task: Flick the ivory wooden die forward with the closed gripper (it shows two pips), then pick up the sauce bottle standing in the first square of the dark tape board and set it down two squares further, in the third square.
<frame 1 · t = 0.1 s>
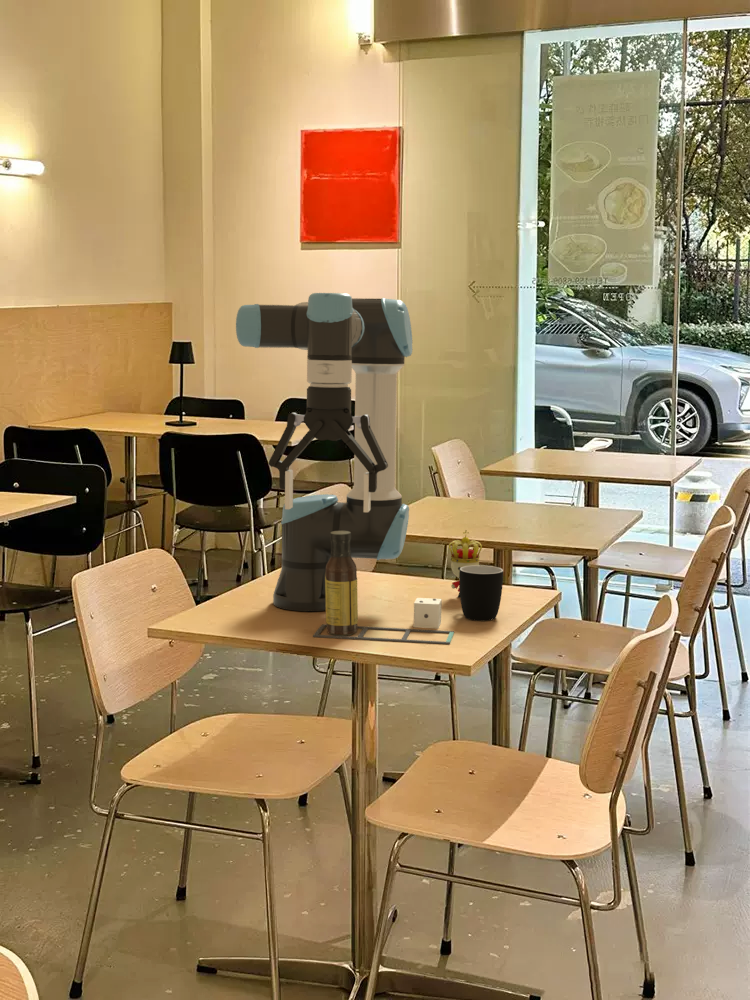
hand: (327, 509, 217), 28 cm above the table, fingers open, 13 cm apart
die: (427, 625, 254), on the table
toy: (464, 597, 280), on the table
tape board: (384, 634, 245), on the table
mug: (475, 617, 262), on the table
sauce bottle: (341, 633, 246), on the table
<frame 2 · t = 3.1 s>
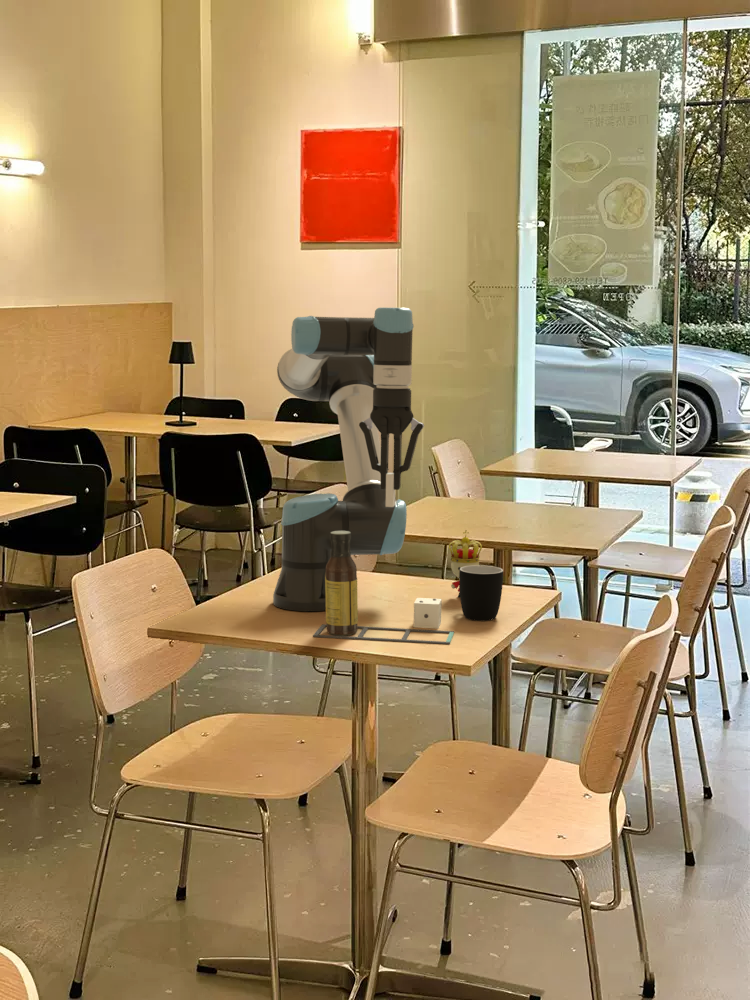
hand: (390, 505, 251), 24 cm above the table, fingers closed
nothing on the table moved.
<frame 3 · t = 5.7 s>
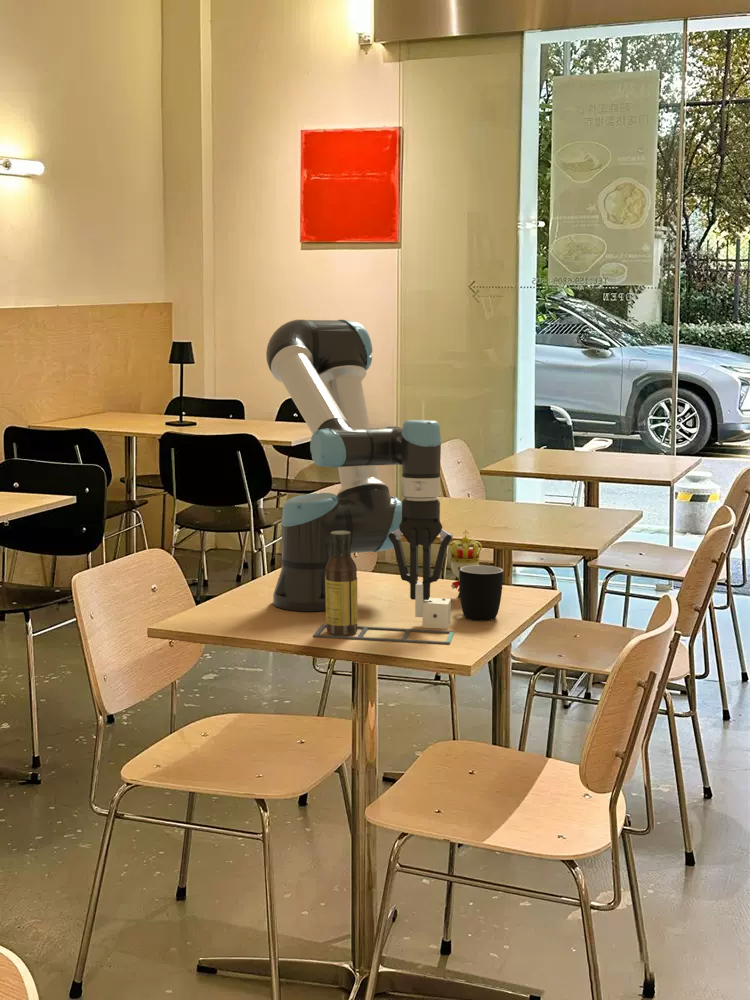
hand: (419, 615, 253), 2 cm above the table, fingers closed
die: (436, 625, 253), on the table, touching gripper
everything else where it was.
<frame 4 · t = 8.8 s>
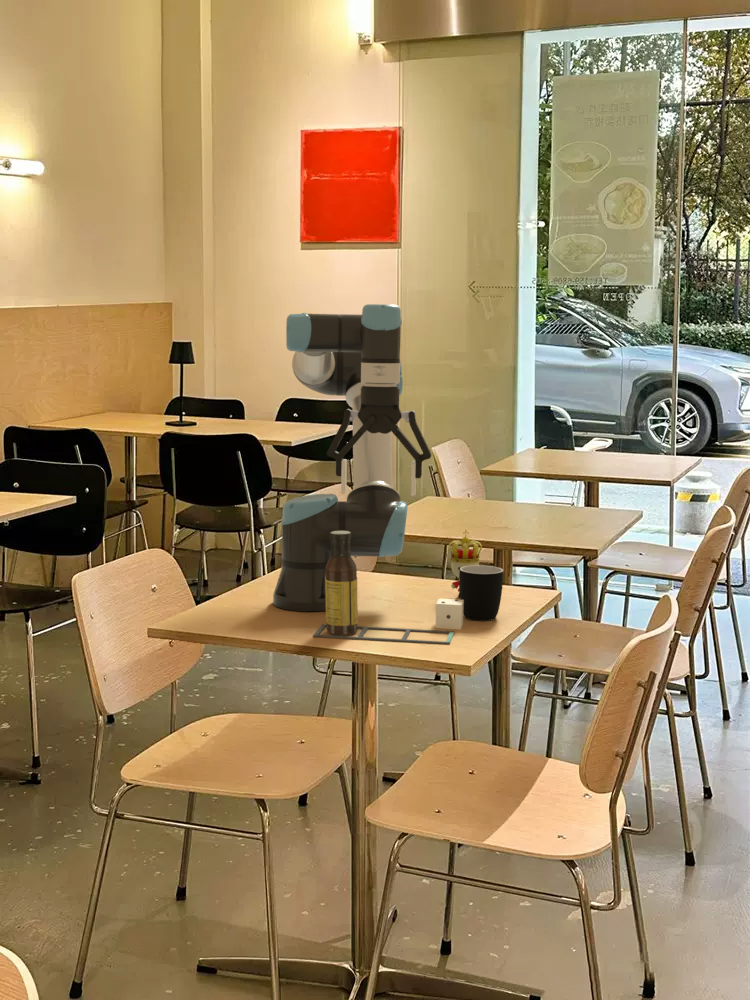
hand: (378, 494, 247), 27 cm above the table, fingers open, 13 cm apart
die: (449, 626, 253), on the table
everything else where it was.
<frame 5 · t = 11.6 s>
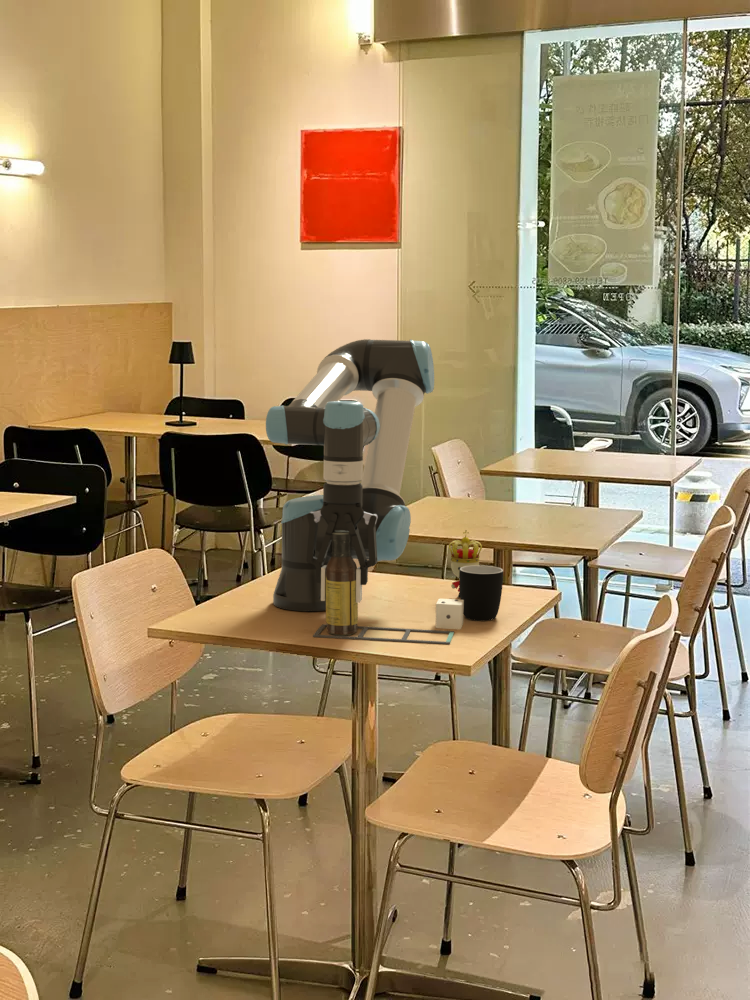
hand: (341, 600, 245), 6 cm above the table, fingers closed on sauce bottle, 6 cm apart
sauce bottle: (341, 633, 246), on the table, touching gripper
everything else where it was.
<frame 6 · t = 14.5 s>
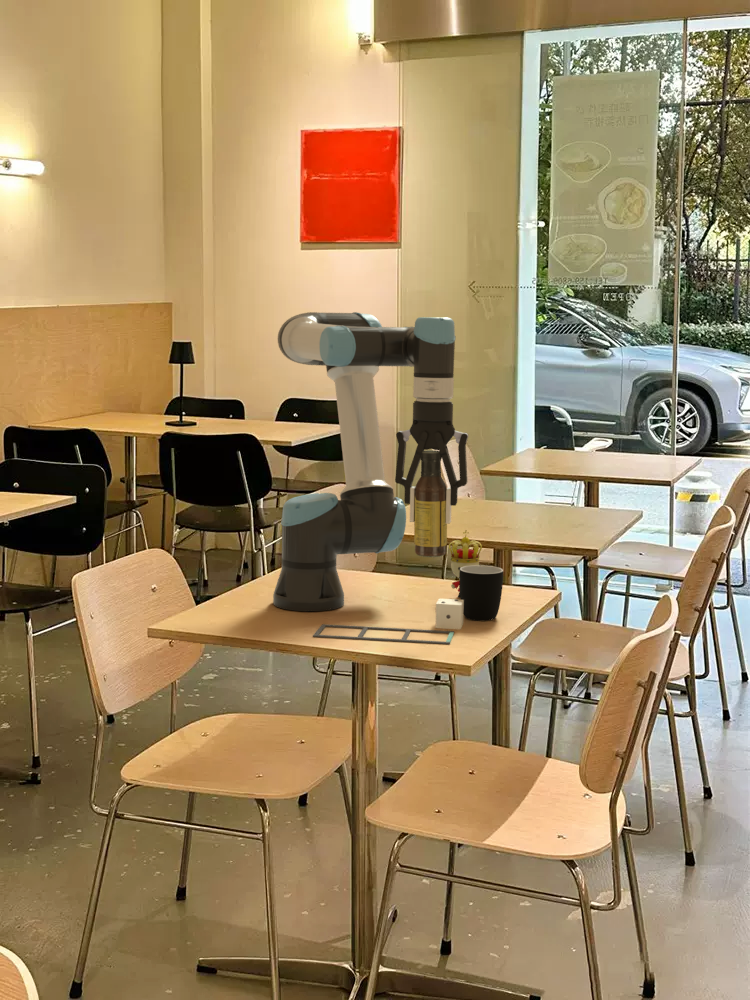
hand: (430, 521, 241), 23 cm above the table, fingers closed on sauce bottle, 6 cm apart
sauce bottle: (429, 555, 241), point 16 cm above the table, touching gripper
everything else where it was.
when the fingers open (8 cm above the table, at t = 17.5 s): sauce bottle drops 1 cm, on the table.
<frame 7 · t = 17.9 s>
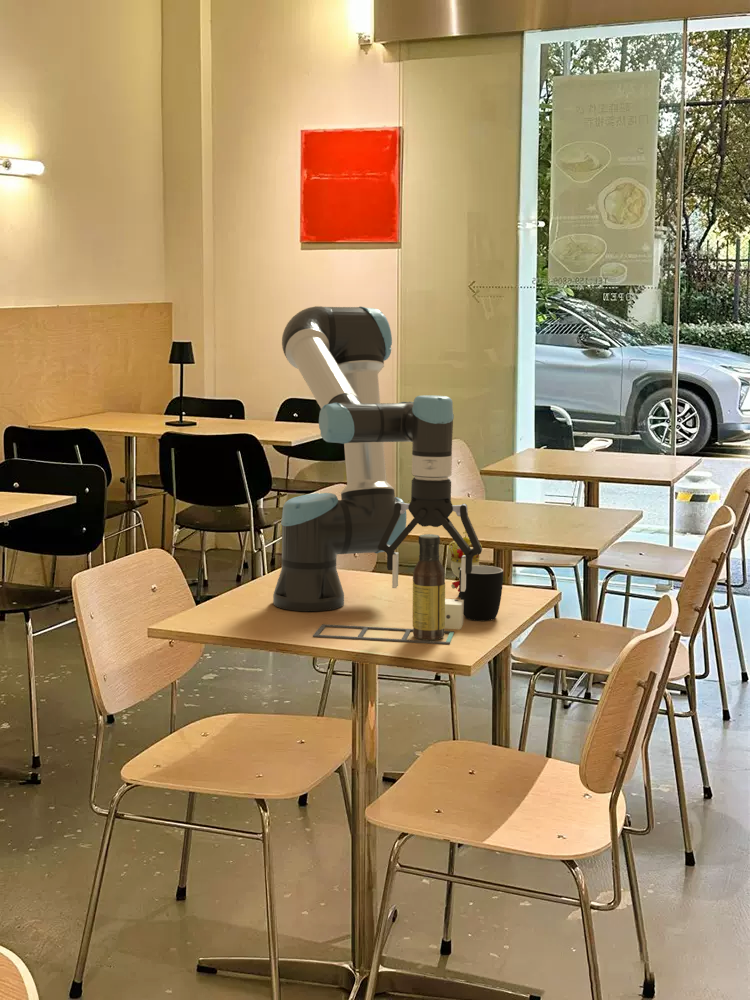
hand: (429, 588, 242), 10 cm above the table, fingers open, 12 cm apart
sauce bottle: (427, 638, 244), on the table
everything else where it was.
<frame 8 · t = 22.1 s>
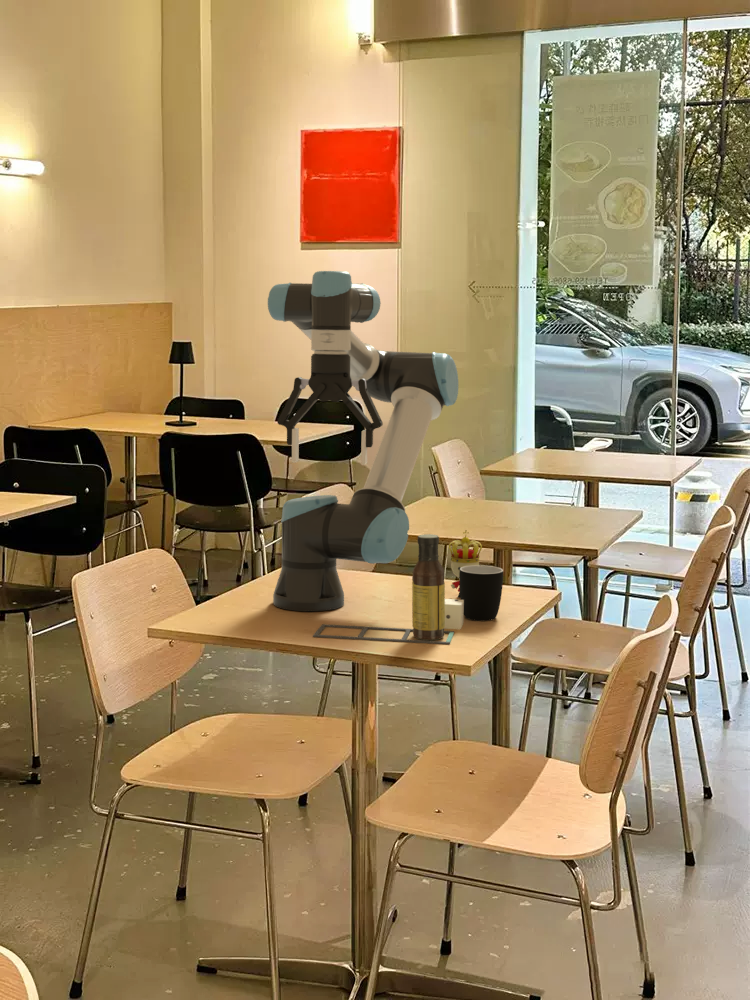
hand: (329, 463, 245), 33 cm above the table, fingers open, 13 cm apart
nothing on the table moved.
at the end: sauce bottle inside the target area (0.1 cm from its centre), on the table; sauce bottle tilted 0°; die moved 4.4 cm from its start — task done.
